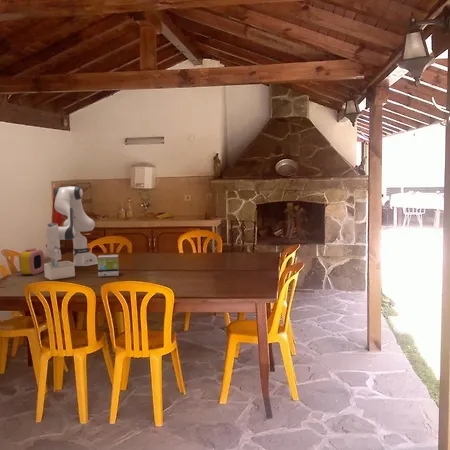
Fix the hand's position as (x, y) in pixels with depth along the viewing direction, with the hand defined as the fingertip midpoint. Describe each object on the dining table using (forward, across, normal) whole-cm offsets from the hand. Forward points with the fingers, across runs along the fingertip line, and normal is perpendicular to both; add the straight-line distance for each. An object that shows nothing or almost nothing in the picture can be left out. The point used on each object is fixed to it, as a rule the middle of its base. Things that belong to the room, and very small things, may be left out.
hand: (54, 264), depth 358 cm
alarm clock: (+11, +34, +6) cm, 37 cm away
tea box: (+11, -13, -36) cm, 39 cm away
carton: (+11, +7, -6) cm, 14 cm away
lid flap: (+10, 0, -5) cm, 11 cm away
